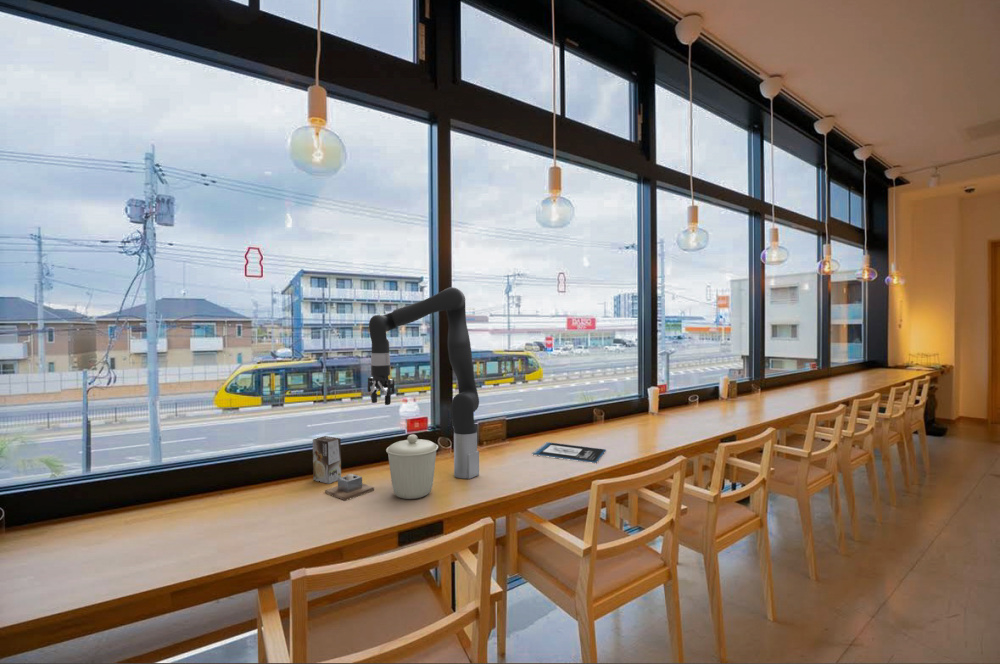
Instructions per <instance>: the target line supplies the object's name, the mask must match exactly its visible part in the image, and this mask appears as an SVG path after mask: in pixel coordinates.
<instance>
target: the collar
mask: <svg viewBox="0 0 1000 664" xmlns="http://www.w3.org/2000/svg"><path fill="white" fill-rule="evenodd" d="M352 474H353V479H351V480H346V475H344V476H341V477H340V478H338V480H337V486H338V490H341V491H343V492H346V493H350V492H352V491H355V490H358V489H361V488H362V483H363V476H360V475H357V474H354V473H352Z"/></svg>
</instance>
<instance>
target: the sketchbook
mask: <svg viewBox="0 0 1000 664" xmlns="http://www.w3.org/2000/svg"><path fill="white" fill-rule="evenodd" d="M604 452H605V453H606V452H607V449H605V448H597V447H588V446H581V445H580V446H579V445H574V444H564V443H557V442H549V441H546V442H544V443H542V444H541V445H540V446H539V447H538V448H536V449H535V450H534V451H533V452H531V455H532V454H533V455H540V456H549V457H555V458H554V459H556V458H563V459H562V460H564V459H570V460H569V461H572V460H578V461H577V462H580V461H584V462H583V463H587V462H592V463H591V464H595V463H596V462H597V461H598V462H599V461H600V459H601V458H602V457H603V455H604V454H605V453H604ZM603 453H604V454H603ZM533 455H532V456H533ZM540 456H539V457H540ZM601 456H602V457H601ZM600 457H601V458H600ZM598 462H597V463H598ZM597 463H596V464H597Z"/></svg>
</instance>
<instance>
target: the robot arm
mask: <svg viewBox="0 0 1000 664" xmlns="http://www.w3.org/2000/svg"><path fill="white" fill-rule="evenodd" d="M443 311H446V314H447V315H446V316H447V321H448V331H447V351H448V352H447V354H448V360H449V364H450V365H451V367H452V369H453V372H454V374H455V375H454V376H456V379H457V387H458V393H457V394H455V396H454V397H453V398H452V401H451V406H450V407H451V408H450V409H451V425H452V428H453V472H454V473H453V476H454V477H455V478H458V479H467V480H470V479H472V478H475V477H477V476H480V451H479V450H478V426H477V424H476V423H475V416H474V415H475V414H474V413H475V412H476V411H477V410H478V408H479V405H480V398H479V394H478V390H477V386H476V379H475V373H474V363H473V355H472V353H473V352H472V347H471V346H472V345H471V341H470V339H471V338H470V334H469V330H468V329H469V328H468V326H467V325H468V324H467V318H466V317H467V315H466V296H465V293H463V291H462V290H460V288H459V289H458V288H457V287H454V286H453V287H447V288H445V289H444V290H441V291H440V292H438V293H435V294H434V295H432V296H430V297H428V298H426V299H423V300H419V301H418V302H414V303H409V305H405V306H402V307H399V308H396V309H394V310H393V311H391V312H389V313H385V314H383V315H382V314H376V315H373V316H372V317H371V318H370V320H369V322H368V331H369V337H370V342H371V357H370V376H372V377H367V393H370V394H371V395H370V396H371V399H370V400H371V404H376V403H377V402H378V391H379V390H381V392H383V394H384V405H385V406H389V405H391V402H392V401H391V397H392V395H394V394H395V379H393V378H390V379H389V376H390V375H391V356H390V341H389V339H388V338H387V332H389V331H391V330H394V329H397V328H398V327H400V326H405V325H409V324H411V323H413V322H416V321H419V320H421V319H423V318H425V317H427V316H429V315H431V314H434V313H438V312H443Z"/></svg>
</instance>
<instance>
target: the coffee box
mask: <svg viewBox="0 0 1000 664" xmlns="http://www.w3.org/2000/svg"><path fill="white" fill-rule="evenodd" d="M341 443H342V442H341V438H339V437H335V436H327V435H324V436H319V437H317V438H313V439H312V468H313V470H312V473H313V474H312V480H313V481H314V480H315V481H314V482H319V481H320V482H319V483H324V484H332V483H334V482H338V478H340V477H342V457H341V456H342V454H341V453H342V452H341V451H342V447H341V446H342V445H341Z"/></svg>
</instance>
